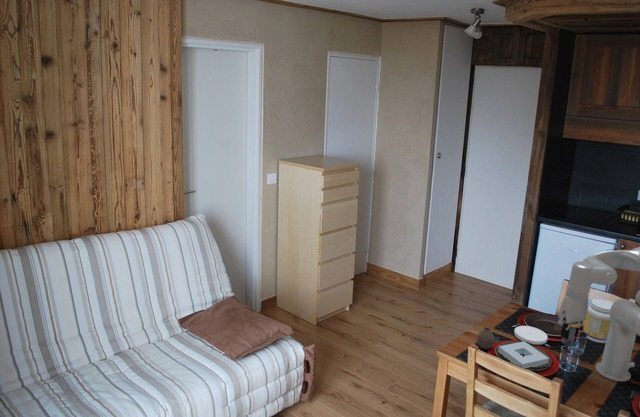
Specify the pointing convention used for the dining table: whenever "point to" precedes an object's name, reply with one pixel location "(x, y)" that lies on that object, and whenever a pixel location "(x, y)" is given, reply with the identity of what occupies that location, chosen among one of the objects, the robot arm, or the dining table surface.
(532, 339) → the plastic lid
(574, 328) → the gold lidded jar
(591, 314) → the supplement tub
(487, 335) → the vase
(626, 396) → the dining table surface
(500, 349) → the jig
